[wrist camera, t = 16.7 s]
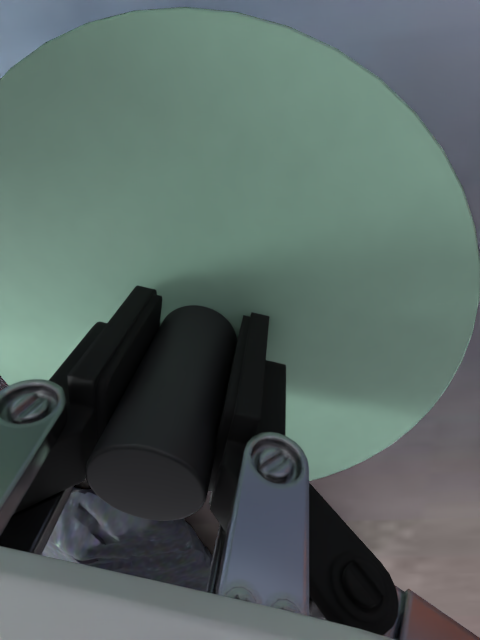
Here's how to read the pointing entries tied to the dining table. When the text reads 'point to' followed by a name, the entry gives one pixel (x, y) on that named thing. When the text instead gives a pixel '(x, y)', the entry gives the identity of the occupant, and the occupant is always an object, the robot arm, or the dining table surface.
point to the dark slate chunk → (128, 543)
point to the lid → (229, 238)
